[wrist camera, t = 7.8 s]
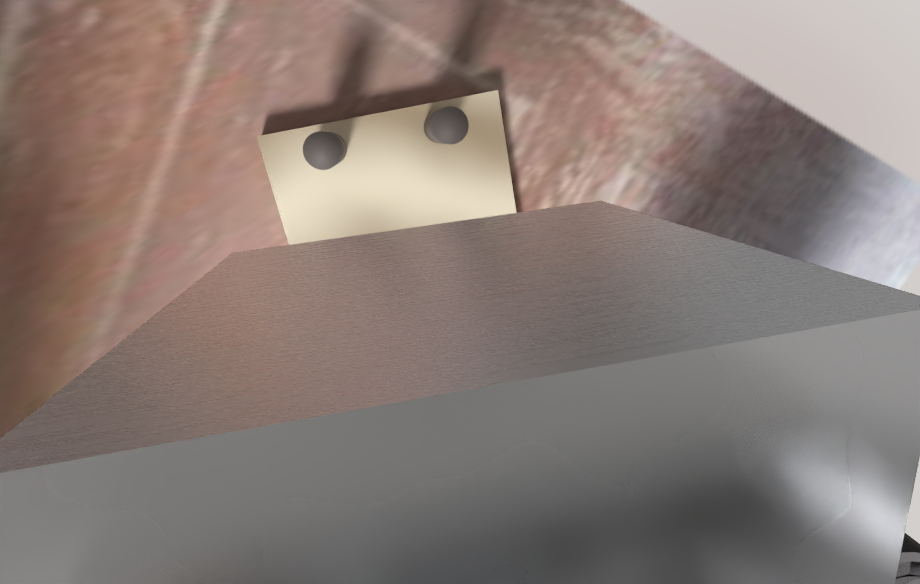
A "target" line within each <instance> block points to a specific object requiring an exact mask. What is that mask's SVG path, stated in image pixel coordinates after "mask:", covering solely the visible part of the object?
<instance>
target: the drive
mask: <svg viewBox="0 0 920 584" xmlns="http://www.w3.org/2000/svg"><path fill="white" fill-rule="evenodd" d="M919 457H920V296H918V295H915V294H912V293H908V292H905V291H902V290H898V289H895V288H891V287H888V286H885V285H881V284H878V283H875V282H871V281H868V280H865V279H861V278H858V277H855V276H851V275H848V274H845V273H841V272H838V271H834V270H831V269H828V268H824V267H821V266H818V265H814V264H811V263H808V262H804V261H801V260H798V259H794V258H791V257H787V256H784V255H781V254H777V253H774V252H771V251H767V250H764V249H761V248H757V247H754V246H751V245H747V244H744V243H740V242H737V241H734V240H730V239H727V238H724V237H720V236H717V235H714V234H710V233H707V232H704V231H700V230H697V229H694V228H690V227H687V226H683V225H680V224H677V223H673V222H670V221H667V220H663V219H660V218H657V217H653V216H650V215H647V214H643V213H640V212H636V211H633V210H630V209H626V208H623V207H620V206H616V205H613V204H610V203H606V202H603V201H597V202H590V203H583V204H576V205H568V206H561V207H554V208H547V209H540V210H533V211H526V212H519V213H512V214H505V215H498V216H490V217H483V218H476V219H469V220H462V221H455V222H448V223H441V224H434V225H427V226H420V227H413V228H405V229H398V230H391V231H384V232H377V233H370V234H363V235H356V236H349V237H342V238H335V239H328V240H320V241H313V242H306V243H299V244H292V245H285V246H278V247H271V248H264V249H257V250H250V251H242V252H235V253H232V254H230V255H229V256H228V257H227V258H225V259H224V260H223V261H222V262H220V263H219V264H218V265H217V266H215V267H214V268H213V269H212V270H210V271H209V272H208V273H207V274H205V275H204V276H203V277H202V278H200V279H199V280H198V281H197V282H195V283H194V284H193V285H192V286H190V287H189V288H188V289H187V290H185V291H184V292H183V293H182V294H180V295H179V296H178V297H177V298H175V299H174V300H173V301H172V302H170V303H169V304H168V305H167V306H165V307H164V308H163V309H162V310H160V311H159V312H158V313H157V314H155V315H154V316H153V317H152V318H150V319H149V320H148V321H147V322H145V323H144V324H143V325H142V326H140V327H139V328H138V329H137V330H135V331H134V332H133V333H132V334H130V335H129V336H128V337H127V338H125V339H124V340H123V341H122V342H120V343H119V344H118V345H117V346H115V347H114V348H113V349H112V350H110V351H109V352H108V353H107V354H105V355H104V356H103V357H102V358H100V359H99V360H98V361H97V362H95V363H94V364H93V365H92V366H90V367H89V368H88V369H87V370H85V371H84V372H83V373H82V374H80V375H79V376H78V377H77V378H75V379H74V380H73V381H72V382H70V383H69V384H68V385H67V386H65V387H64V388H63V389H62V390H60V391H59V392H58V393H57V394H55V395H54V396H53V397H52V398H50V399H49V400H48V401H47V402H45V403H44V404H43V405H42V406H40V407H39V408H38V409H37V410H35V411H34V412H33V413H31V414H30V415H29V416H28V417H26V418H25V419H24V420H23V421H21V422H20V423H19V424H18V425H16V426H15V427H14V428H13V429H11V430H10V431H9V432H8V433H6V434H5V435H4V436H3V437H1V438H0V584H895V581H896V576H897V571H898V565H899V560H900V555H901V550H902V545H903V539H904V534H905V529H906V523H907V518H908V514H909V508H910V503H911V498H912V493H913V488H914V482H915V477H916V472H917V467H918V462H919Z"/></svg>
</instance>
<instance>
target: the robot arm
mask: <svg viewBox="0 0 920 584" xmlns="http://www.w3.org/2000/svg"><path fill="white" fill-rule="evenodd" d="M895 584H920V553H917V552H901V555H900V560H899V565H898V571H897V576H896V581H895Z"/></svg>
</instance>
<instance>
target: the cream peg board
mask: <svg viewBox="0 0 920 584" xmlns="http://www.w3.org/2000/svg"><path fill="white" fill-rule="evenodd" d="M257 140H258V143H259V146H260V150H261V153H262V156H263V160H264V163H265V166H266V170H267V173H268V176H269V180H270V183H271V186H272V190H273V193H274V196H275V200H276V203H277V206H278V210H279V213H280V216H281V220H282V223H283V226H284V230H285V233H286V236H287V240H288V243H289V245H292V244H299V243H306V242H313V241H320V240H328V239H335V238H342V237H349V236H356V235H363V234H370V233H377V232H384V231H391V230H398V229H405V228H413V227H420V226H427V225H434V224H441V223H448V222H455V221H462V220H469V219H476V218H483V217H490V216H498V215H505V214H512V213H517V212H516V206H515V199H514V193H513V186H512V179H511V173H510V166H509V160H508V153H507V146H506V140H505V133H504V127H503V120H502V113H501V107H500V100H499V94H498V90H495V91H490V92H485V93H480V94H475V95H469V96H464V97H459V98H454V99H448V100H443V101H438V102H433V103H428V104H422V105H417V106H412V107H407V108H402V109H396V110H391V111H386V112H381V113H376V114H370V115H365V116H360V117H355V118H350V119H344V120H339V121H334V122H329V123H324V124H318V125H313V126H308V127H303V128H298V129H292V130H287V131H282V132H277V133H272V134H266V135H261V136H257Z"/></svg>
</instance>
